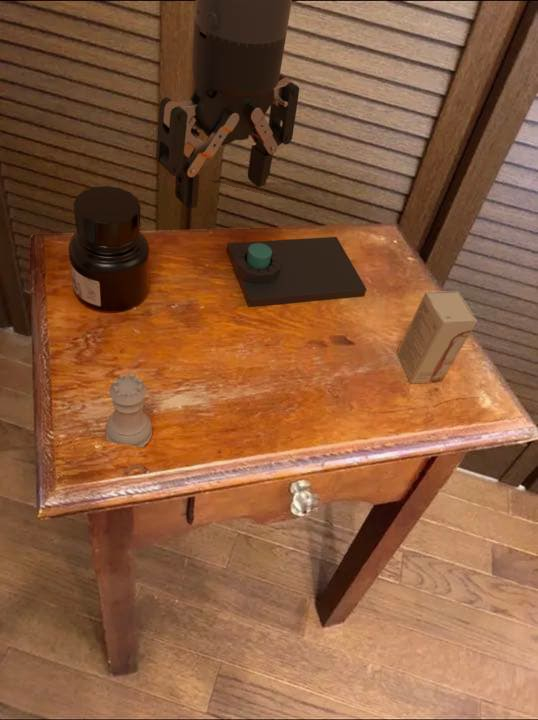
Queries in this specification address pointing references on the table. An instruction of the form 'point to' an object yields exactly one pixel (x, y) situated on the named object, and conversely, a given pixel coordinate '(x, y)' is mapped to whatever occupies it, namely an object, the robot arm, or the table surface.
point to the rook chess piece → (128, 413)
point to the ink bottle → (108, 250)
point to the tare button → (259, 255)
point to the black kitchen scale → (296, 272)
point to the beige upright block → (435, 336)
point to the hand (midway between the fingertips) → (222, 193)
